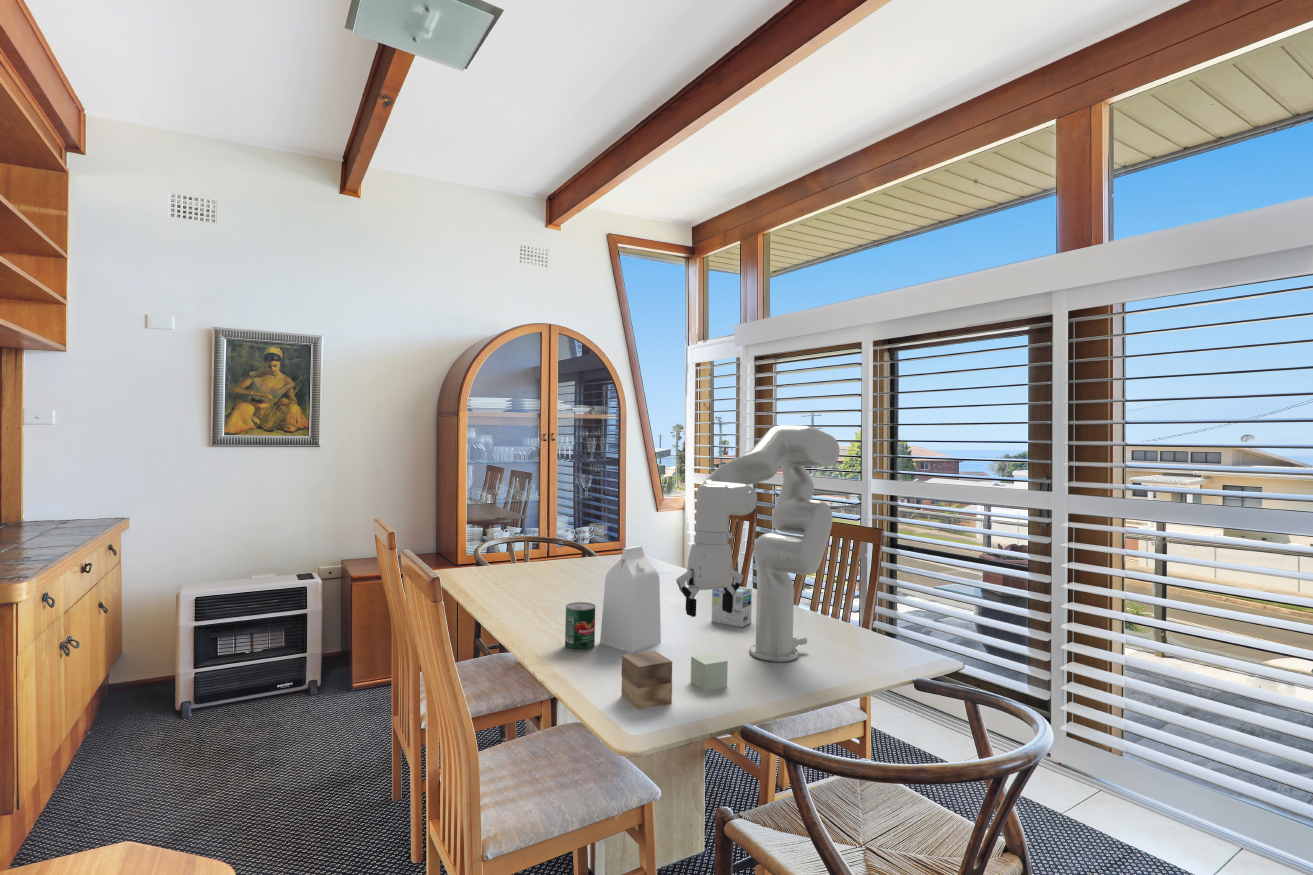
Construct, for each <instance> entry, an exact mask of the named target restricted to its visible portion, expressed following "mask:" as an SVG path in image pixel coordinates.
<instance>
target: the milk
mask: <svg viewBox="0 0 1313 875" xmlns="http://www.w3.org/2000/svg"><path fill="white" fill-rule="evenodd" d="M620 557H621V558H620V560H618V561H617V562H616V563H614V565H613V566H612V567H611V568H610V569H609V570H608V571H607V573H606V574H605V578H604V579H605V580H604V589H603V590H604V591H603V600H602V601H603V602H602V615H601V628H600V637H599V638H600V641H599V643H600V644H602V645H605V646H608V647H612V648H616V649H617V650H622V651H624V652H629V653H630V654H633V653H636V652H638V651H640V650H641V651H642V650H643V649H646V648H649V647H653V646H655V645H657V644H660V643H661V644H662V638H661V637H662V631H661V630H662V629H661V628H662V627H661V596H660V595H661V592H660V589H661V588H660V587H661V586H660V585H661V584H660V583H661V582H660V575H659V572H658V571H657V569H656V568H655V567H654V565H653V564H652V563H651V562H650V560H649V559H648V558H647V557H646V556H645V552H644V550H643V546H642V545H641V546H640V545H636V546H629V547H624V548H623V551H622V554H621V556H620Z"/></svg>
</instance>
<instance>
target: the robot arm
mask: <svg viewBox="0 0 1313 875" xmlns="http://www.w3.org/2000/svg"><path fill="white" fill-rule="evenodd" d="M839 458H840V446H839V442H838V440H837V439H836V438H835V437H834V436H833V435H830V433H827V432H825V431H822V430H819V428H818V429H817V428H815V427H812V426H808V425H777V426H772V427H771V428H769V430H767V431H766V433H765V434H764V435H763V436H762V437H761V438H760V439H759V440H758V442H757V443H756V444H755V445H754V446H753V447H752V448H751V449H750V451H748V453H746V454H744V455H741V456H739V457H737V458H735V459H734V458H733V459H732V460H730V461H728V462H726V463H724V464H722V465H720V466H719V467H717V468H716V469H714V470H713V471H712V472H711V473H710V475H708V476H707V477H706V479H705V480H704V481H703V483H702V484H700V485H699V486H698V487H697V490H696V505H695V506H696V507H695V508H696V510H695V513H696V514H695V536H694V537H695V539H694V540H695V542H694V543H692V544H691V546H690V550H689V554H688V560H687V567H686V572H684V573H683V574H681V575H680V576H679V577H676V580H675V581H676V584H677V586H678V588H679V591H680V592H681V593H682V594H683V596H684V597H685V612H686V615H688V616H690V617H692V618H695V617H696V616H697V599H696V598H695V597H696V596H697V595H698V594H699V591H705V590H706V591H710V590H712V589H721V588H723V590H724V591H725V593H723V599H722V610H723V611H725V612H728V613H732V608H733V596H734V595H735V594H736V591H737V589H738V588H739V587H741V583H742V580H743V578H744V575H743V574H741V573H740V572H738V571H737V570H735V569H734V567H733V566H734V565H733V554H732V547H731V544H729V542H730V541H729V540H730V539H732V538H733V533H732V532H730V531H729V529H730V528H729V526H730V516H731V515H734V516H747V515H749V514H750V513H752V512H753V511H754V510H755V508H756V507H757V505H758V494H757V492H756V490H755V488H753V487H752V486H750V485H754V484H758V483H762V482H765V481H768V480H770V479H772V478H773V477H775V475H776V473H777V472H778V471H779V470H780V469H781V471H782V476H783V477H782V478H783V479H782V480H783V482H782V485H781V489H780V491H779V494H778V497H777V500H776V502H775V506H774V509H773V511H772V515H771V525H772V527H773V528H774V529H775V530H777V531H778V532H780V533H778V532H767V533H763V534H761V535H759V536H758V538H757V539H756V540H755V542H754V546H753V555H754V562H755V568H756V614H755V615H756V616H755V617H756V619H755V622H756V623H755V644H752V645H751V646H749V654H750V655H751V656H752V657H754V658H756V659H760V660H761V661H767V662H777V663H778V662H780V663H781V662H790V661H794V660H796V659H797V658H798V657H799V653H800V652H799V650H798V649H797V647H799V646H802V645H806V644H807V643H808V638H807V637H806V636H801V637H797V636H796V635H794V603H795V602H794V600H795V589H794V584H793V581H792V579H791V576H790V575H789V574H790V573H791V574H796V575H803V576H811V575H813V574H815V573H816V572H817V571H818V570H819V567H820V566H821V563H822V560H823V556H824V554H825V550H826V547H827V544H828V541H829V538H830V535H831V532H832V531H831V530H832V527H833V512H832V509H831V507H830V505H829V504H828V503H826V502H825V501H822V500H817V499H812V498H813V494H814V492H815V486H814V482H813V479H812V478H811V476H810V475H809V473H808V471H807V470H806V468H805V467H815V468H817V467H819V468H820V467H821V468H823V467H824V468H829V467H832V466H834V465H835V464H836V463H837V462H838V460H839ZM733 578H734V580H733Z"/></svg>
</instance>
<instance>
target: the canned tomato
mask: <svg viewBox="0 0 1313 875" xmlns="http://www.w3.org/2000/svg"><path fill="white" fill-rule="evenodd" d="M596 606H597V605H596V604H594V603H592V602H586V601H581V602H580V601H578V602H577V601H576V602H570V603H567V604H565V625H564V626H565V628H564V629H565V630H564V632H565V633H564V635H565V636H564V648H565V650H567V651H570V652H579V653H580V652H581V653H582V652H588V651H591V650H594V649H595V648H596V646H595V644H596V642H595V641H596V639H595V638H596V637H595V635H596V634H595V633H596V632H595V631H596Z"/></svg>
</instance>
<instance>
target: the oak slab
mask: <svg viewBox="0 0 1313 875" xmlns="http://www.w3.org/2000/svg"><path fill="white" fill-rule="evenodd" d="M672 696H673V682H672V683H667V684H662V685H656V686H650V687H645V688H639V689H638V688H637V687H635V686H634V685H633V684H631V683H630V682H629V681H627V680H626V679H625V678H623V677H622V676H621V697H622V698H623V699H624V700H625V701H626V702H628V703H629V705H632V706H633V707H634V708H635V709H636V710H637V711H639V710H643V709H649V708H655V707H659V706H665V705H670V704H673V697H672Z"/></svg>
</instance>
